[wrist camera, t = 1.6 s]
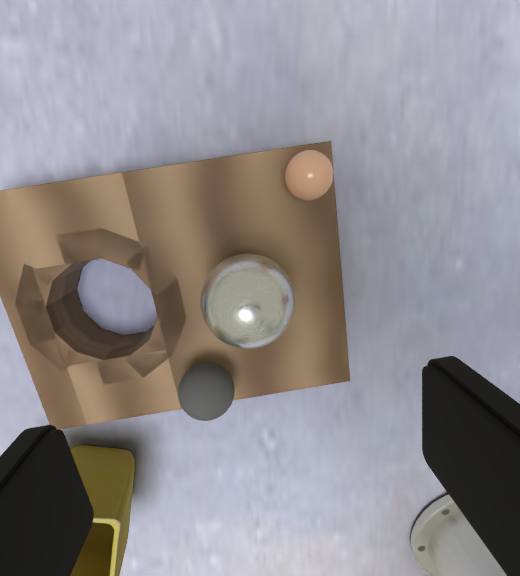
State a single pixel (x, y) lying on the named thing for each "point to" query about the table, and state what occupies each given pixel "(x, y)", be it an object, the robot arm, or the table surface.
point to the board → (168, 281)
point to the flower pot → (105, 507)
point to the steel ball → (247, 301)
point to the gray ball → (206, 391)
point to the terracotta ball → (309, 175)
